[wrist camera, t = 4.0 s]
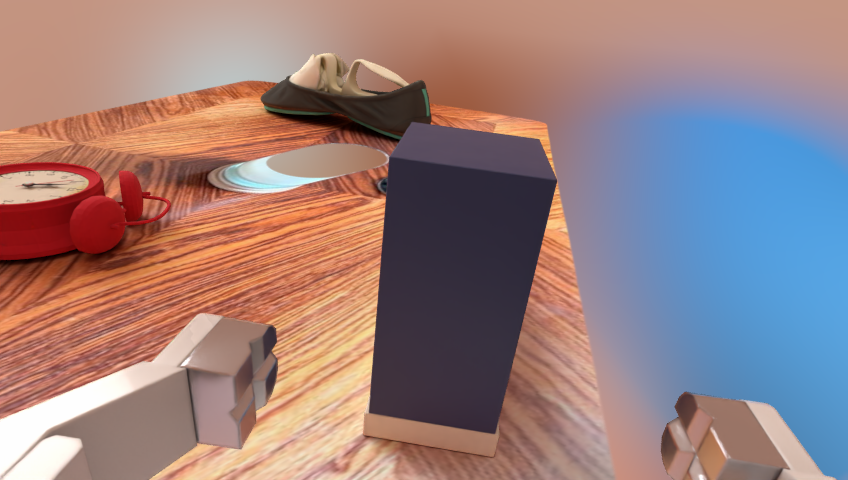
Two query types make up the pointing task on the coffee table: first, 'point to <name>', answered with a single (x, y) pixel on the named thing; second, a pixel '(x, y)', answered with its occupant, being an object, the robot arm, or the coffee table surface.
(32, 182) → the alarm clock
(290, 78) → the ballet flat
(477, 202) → the dark blue l-shaped block
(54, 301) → the coffee table surface
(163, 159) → the coffee table surface
